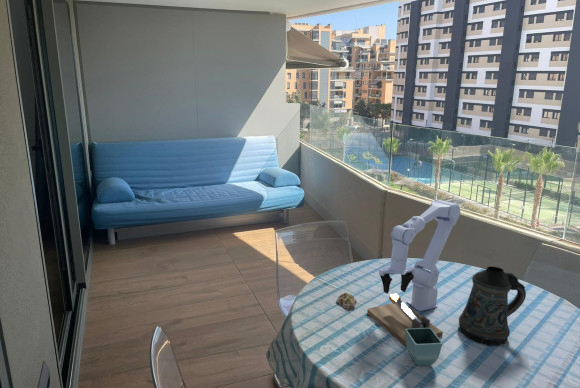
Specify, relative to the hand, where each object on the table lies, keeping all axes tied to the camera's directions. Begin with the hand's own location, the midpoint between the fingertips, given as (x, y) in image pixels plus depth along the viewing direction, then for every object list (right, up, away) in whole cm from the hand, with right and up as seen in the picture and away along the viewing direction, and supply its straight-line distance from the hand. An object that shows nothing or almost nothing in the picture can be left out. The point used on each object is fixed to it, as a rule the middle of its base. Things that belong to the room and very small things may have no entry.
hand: (394, 291), depth 149 cm
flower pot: (+2, -17, -23) cm, 28 cm away
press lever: (+3, -7, -5) cm, 9 cm away
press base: (+2, -12, -3) cm, 12 cm away
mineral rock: (-16, -8, +12) cm, 22 cm away
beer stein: (+31, -13, -7) cm, 35 cm away
